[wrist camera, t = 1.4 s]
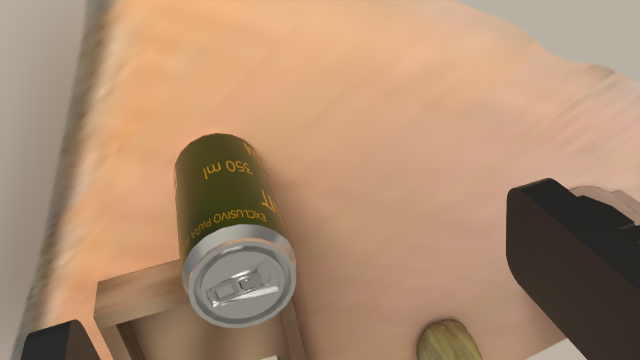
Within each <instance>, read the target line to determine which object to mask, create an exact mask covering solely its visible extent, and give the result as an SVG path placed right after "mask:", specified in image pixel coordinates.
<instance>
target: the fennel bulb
mask: <svg viewBox="0 0 640 360" xmlns="http://www.w3.org/2000/svg"><path fill="white" fill-rule="evenodd" d="M417 358H418V360H482V357H481V354H480V352H479V349H478V347H477V345H476V343H475V341H474V340H473V338H472V337H471V335H470V334H469V333H468V332H467V329H466V327H465V326H464V325H463V324H461V323H460V322H458V321H455V320H443V321H441V322H440V323H435V324H432V325H430V326H429V327H428V328H427V329H426V330H425V331H424V333H423V335H422V336H421V338H420V340H419V342H418V345H417Z"/></svg>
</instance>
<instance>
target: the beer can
mask: <svg viewBox="0 0 640 360" xmlns="http://www.w3.org/2000/svg"><path fill="white" fill-rule="evenodd" d="M174 186H175V199H176V212H177V225H178V239H179V252H180V265H181V278H182V283H183V286H184V290H185V293H186V295H187V296H188V297H189V299H190V302H191V306H192V307H193V308H194V309H195V311H196V312H197V313H198V315H199V316H200V317H202V318H203V319H205V320H207V321H208V322H210V323H211V324H214V325H218V326H222V327H226V328H245V327H249V326H253V325H257V324H260V323H262V322H264V321H266V320H268V319H270V318H272V317H274V316H275V315H276V314H277V313H278V312H279V311H281V310H282V309H283V308H284V307H285V306H286V305H287V303H288V302H289V300H290V298H291V297H292V295H293V294H294V290H295V285H296V281H297V279H296V268H297V265H296V258H295V252H294V249H293V247H292V244H291V241H290V239H289V236H288V233H287V231H286V228H285V225H284V223H283V220H282V217H281V215H280V212H279V210H278V207H277V204H276V202H275V199H274V196H273V194H272V191H271V188H270V186H269V183H268V180H267V178H266V175H265V172H264V170H263V167H262V164H261V162H260V159H259V157H258V155H257V154H256V152H255V150H254V148H252V147H251V146H250V145H249V144H248V143H247V142H246V141H244V140H243V139H240V138H238V137H236V136H233V135H229V134H219V133H215V134H210V135H205V136H202V137H200V138H199V139H197V140H195V141H193V142H191V143H190V144H189V145H188V146H187V147H186V148H185V149H184V150H183V151H182V152H181V153H180V155H179V157H178V159H177V161H176V163H175V170H174Z"/></svg>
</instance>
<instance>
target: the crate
mask: <svg viewBox="0 0 640 360" xmlns="http://www.w3.org/2000/svg"><path fill="white" fill-rule="evenodd" d="M93 318H94V320H95V322H96V324H97V326H98V328H99V330H100V332H101V334H102V336H103V338H104V340H105V342H106V344H107V347H108V349H109V351H110V353H111V355H112V357H113V359H114V360H262V359H265V358H269V357H272V356H275V355H276V356H277V359H278V360H306V356H305V352H304V348H303V344H302V339H301V335H300V331H299V326H298V322H297V318H296V314H295V309H294V305H293V301H292V297H291V298H290V300H289V302H288V303H287V305H286V306H285V307H284V308H283V309H282V310H281V311H279V312H278V313H277V314H276V315H275V316H274V317H272V318H270V319H268V320H266V321H264V322H262V323H260V324H257V325H253V326H249V327H245V328H226V327H222V326H218V325H214V324H211V323H210V322H208V321H207V320H205V319H203V318H202V317H200V316H199V315H198V313H197V312H196V311H195V309H194V308H193V307H192V306H191V302H190V299H189V297H188V296H187V295H186V293H185V290H184V286H183V283H182V278H181V265H180V259H179V260H176V261H172V262H169V263H165V264H161V265H158V266H154V267H151V268H147V269H143V270H140V271H136V272H133V273H129V274H125V275H122V276H118V277H115V278H111V279H107V280H104V281H100V282H98V286H97V294H96V301H95V309H94V317H93Z"/></svg>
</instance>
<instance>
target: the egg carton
mask: <svg viewBox="0 0 640 360" xmlns="http://www.w3.org/2000/svg"><path fill="white" fill-rule="evenodd" d="M262 360H278V359H277V356H276V355H275V356H272V357H269V358H265V359H262Z"/></svg>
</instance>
